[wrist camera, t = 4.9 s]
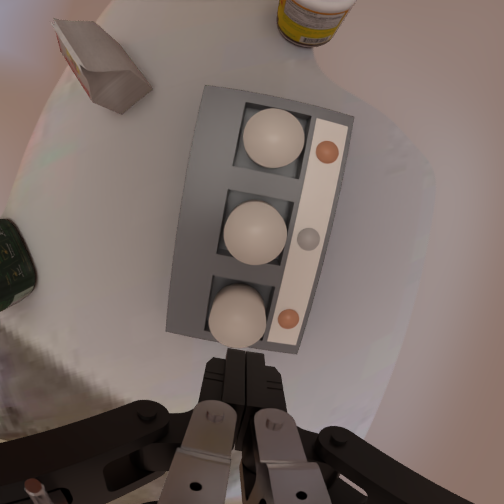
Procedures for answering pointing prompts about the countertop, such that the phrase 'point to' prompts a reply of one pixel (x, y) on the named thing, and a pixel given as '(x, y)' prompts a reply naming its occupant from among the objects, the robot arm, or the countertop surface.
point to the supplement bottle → (311, 20)
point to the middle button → (255, 232)
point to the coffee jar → (13, 267)
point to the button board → (255, 188)
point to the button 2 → (273, 138)
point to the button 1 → (237, 316)
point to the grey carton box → (100, 65)
